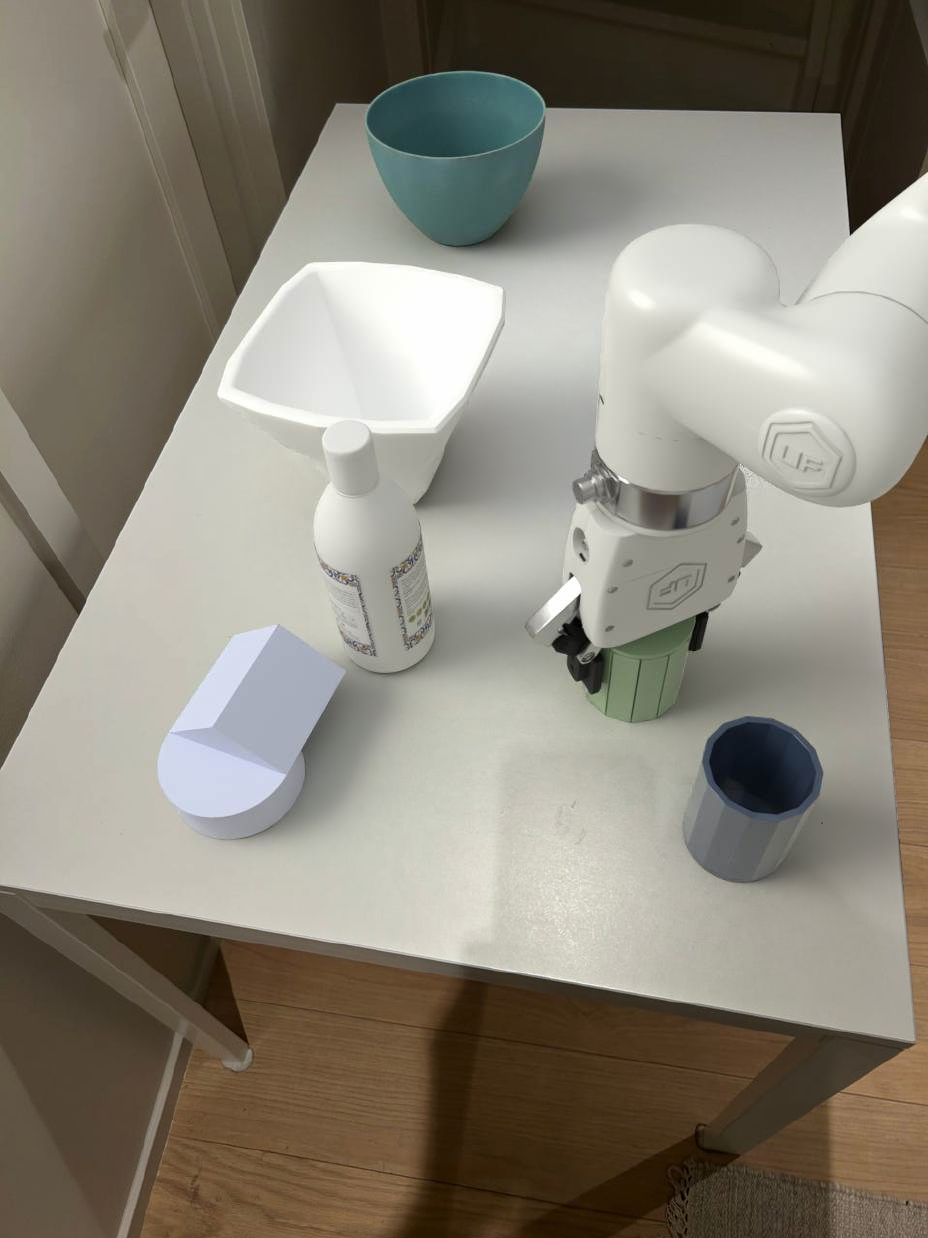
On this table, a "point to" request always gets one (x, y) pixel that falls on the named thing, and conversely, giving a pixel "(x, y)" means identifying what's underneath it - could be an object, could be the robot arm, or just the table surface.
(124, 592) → the table surface
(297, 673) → the wedge on round base
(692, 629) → the green cup
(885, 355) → the robot arm
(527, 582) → the table surface
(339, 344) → the bowl
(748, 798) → the blue cup
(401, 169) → the plant pot
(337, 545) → the bath foam
